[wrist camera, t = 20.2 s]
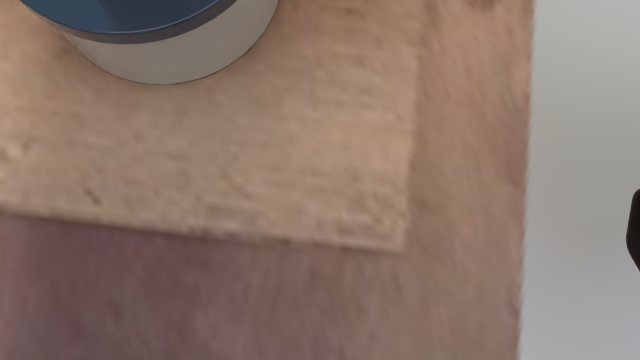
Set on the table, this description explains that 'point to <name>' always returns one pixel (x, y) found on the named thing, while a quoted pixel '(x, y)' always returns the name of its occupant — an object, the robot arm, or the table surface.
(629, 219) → the robot arm
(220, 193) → the table surface
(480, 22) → the table surface
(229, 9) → the jar
